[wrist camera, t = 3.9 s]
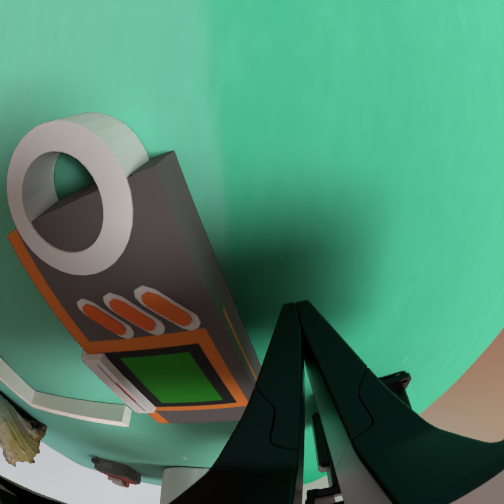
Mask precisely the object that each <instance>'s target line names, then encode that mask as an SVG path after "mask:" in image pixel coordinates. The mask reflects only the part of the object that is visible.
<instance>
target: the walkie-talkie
mask: <svg viewBox="0 0 504 504" xmlns="http://www.w3.org/2000/svg"><path fill="white" fill-rule="evenodd" d="M91 461H92V462H93V463H95V466H94V468H96V469H97V470H98V471H100V472H102V473H104V474H106V475H108V479H109V480H112V482H113V483H114V484H116V485H119V486H123V487H129V483H131V484H140V481H141V475H140V474H139V473H137V472H136V471H134V470H133V469H131V468H130V467H128V466H127V465H124V464H120V463H116V462H112V461H109V460H105V459H102V458H98V457H96V459H94V458H92V460H91Z"/></svg>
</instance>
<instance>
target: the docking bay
mask: <svg viewBox="0 0 504 504" xmlns="http://www.w3.org/2000/svg"><path fill="white" fill-rule="evenodd" d="M0 380H1V381H2V382H3V383H4V384H6V385H7V386H8V387H9V388H10V389H11V390H12V391H13V392H14V393H16V394H17V395H18V396H19V397H20V398H21V399H23V400H24V401H25V402H26V403H28V404H29V405H30V406H31V407H33V408H37V409H40V410H44V411H47V412H51V413H55V414H59V415H63V416H67V417H72V418H76V419H81V420H86V421H92V422H97V423H103V424H110V425H117V426H124V427H129V423H130V418H131V413H132V410H131V409H129V408H128V407H127V406H126V405H119V404H109V403H100V402H92V401H85V400H78V399H72V398H66V397H61V396H55V395H50V394H46V393H41V392H37V391H35V390H33V389H32V388H31V387H30V386H29V385H28V384H27V383H26V382H25V381H23V380H22V379H21V378H20V377H19V376H18V375H17V374H16V373H15V372H14V371H13V370H12V369H11V368H10V367H9V366H8V365H7V364H6V363H5V362H4V361H3V360H2V359H1V358H0Z"/></svg>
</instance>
